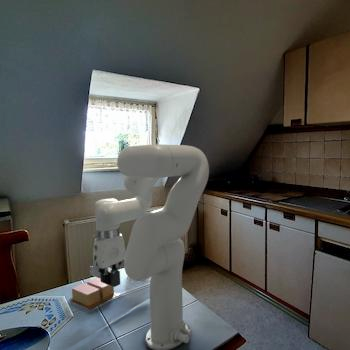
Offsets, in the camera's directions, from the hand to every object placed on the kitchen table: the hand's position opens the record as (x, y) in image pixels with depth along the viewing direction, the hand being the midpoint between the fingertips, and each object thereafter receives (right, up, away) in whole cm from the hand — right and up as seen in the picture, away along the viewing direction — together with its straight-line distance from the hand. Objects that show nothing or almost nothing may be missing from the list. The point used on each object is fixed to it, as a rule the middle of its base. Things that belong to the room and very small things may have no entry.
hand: (110, 281), depth 95 cm
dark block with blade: (-4, -1, +2) cm, 4 cm away
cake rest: (-8, -8, +8) cm, 14 cm away
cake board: (-9, -9, +5) cm, 14 cm away
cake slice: (-11, -8, +3) cm, 14 cm away
